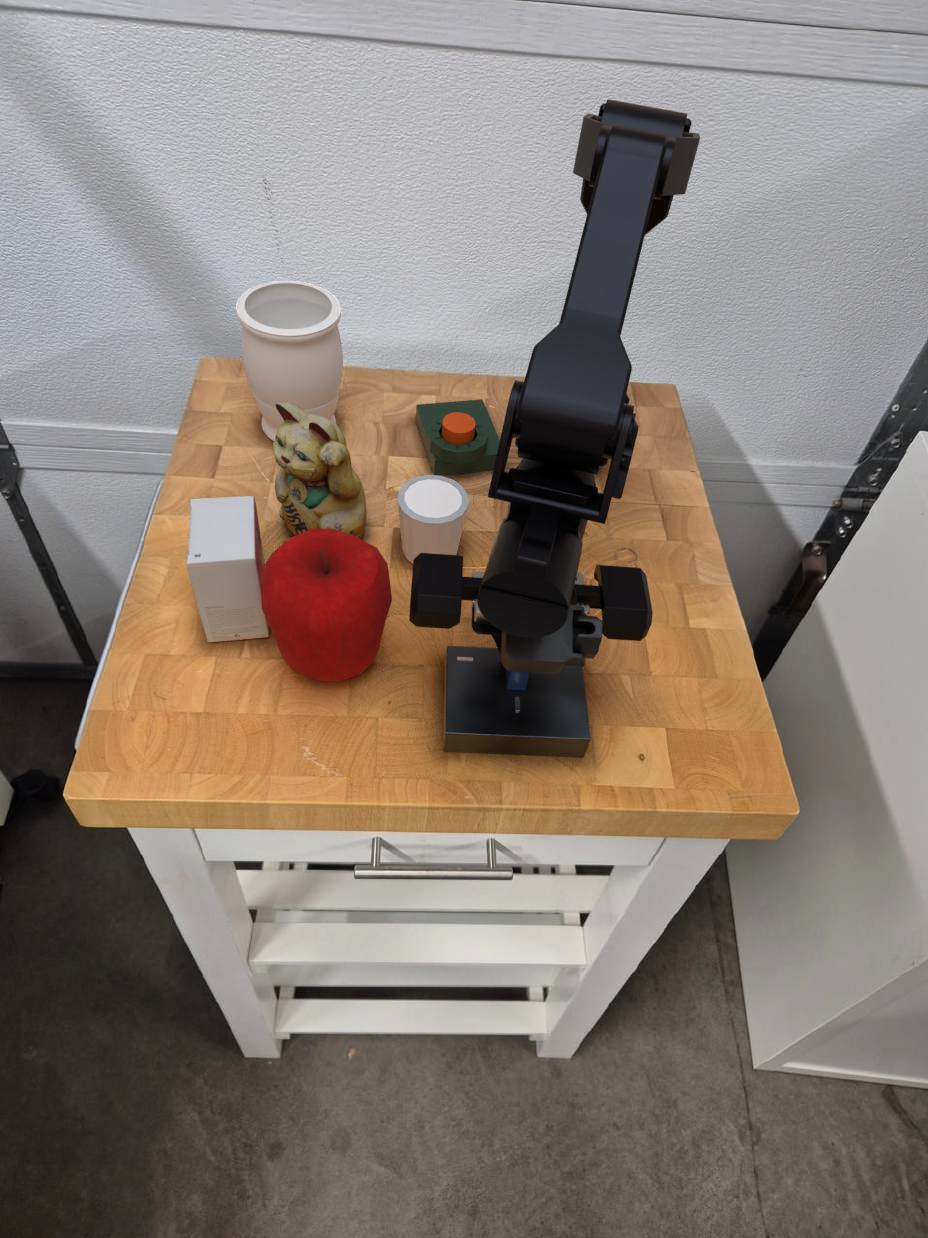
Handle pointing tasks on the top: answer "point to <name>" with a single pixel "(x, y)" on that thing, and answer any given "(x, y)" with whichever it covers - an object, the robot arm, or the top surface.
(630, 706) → the top surface
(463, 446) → the button base
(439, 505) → the white cup
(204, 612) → the small box
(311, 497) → the lucky beckoning cat
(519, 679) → the tap handle
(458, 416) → the button
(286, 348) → the jar
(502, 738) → the tap plate
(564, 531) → the robot arm
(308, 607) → the apple
